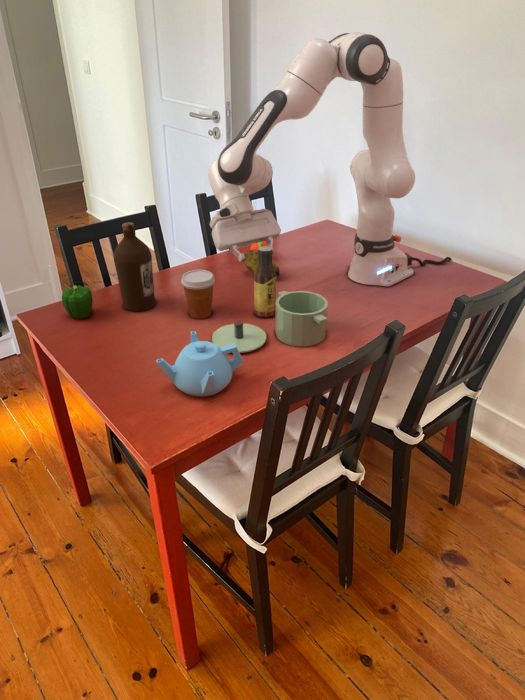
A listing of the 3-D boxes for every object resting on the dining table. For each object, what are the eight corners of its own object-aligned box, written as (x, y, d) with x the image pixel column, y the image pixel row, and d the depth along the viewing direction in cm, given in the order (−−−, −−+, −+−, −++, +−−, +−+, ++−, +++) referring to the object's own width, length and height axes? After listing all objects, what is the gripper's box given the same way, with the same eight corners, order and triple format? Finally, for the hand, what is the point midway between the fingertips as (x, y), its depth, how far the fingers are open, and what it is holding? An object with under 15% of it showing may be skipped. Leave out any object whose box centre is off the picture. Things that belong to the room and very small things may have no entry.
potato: (261, 285, 171) (261, 262, 166) (240, 272, 180) (239, 249, 175) (282, 279, 174) (282, 256, 170) (260, 266, 183) (260, 244, 179)
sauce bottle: (271, 320, 151) (271, 254, 141) (251, 316, 153) (249, 251, 142) (278, 310, 156) (279, 246, 146) (259, 306, 158) (258, 243, 148)
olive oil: (115, 310, 157) (101, 228, 143) (131, 294, 165) (119, 216, 152) (148, 314, 154) (137, 232, 141) (162, 298, 163) (153, 219, 150)
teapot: (212, 410, 117) (209, 369, 111) (157, 391, 123) (152, 351, 117) (246, 374, 128) (245, 336, 123) (194, 358, 134) (191, 321, 129)
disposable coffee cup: (178, 318, 152) (174, 280, 146) (193, 303, 160) (190, 267, 153) (208, 323, 150) (205, 285, 143) (222, 308, 157) (220, 271, 151)
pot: (300, 313, 155) (301, 283, 150) (342, 341, 141) (344, 310, 136) (261, 325, 149) (260, 295, 144) (300, 356, 135) (301, 324, 130)
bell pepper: (69, 309, 157) (62, 278, 152) (97, 307, 158) (91, 277, 153) (62, 322, 150) (55, 291, 145) (92, 321, 151) (85, 289, 146)
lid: (248, 321, 150) (248, 305, 148) (276, 344, 140) (277, 327, 137) (202, 335, 144) (201, 319, 141) (228, 361, 133) (227, 343, 131)
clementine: (269, 263, 185) (269, 244, 182) (250, 263, 185) (249, 244, 182) (269, 255, 192) (269, 236, 188) (250, 255, 192) (250, 236, 188)
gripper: (265, 213, 158) (283, 254, 157) (204, 225, 149) (222, 269, 147) (273, 201, 153) (292, 244, 151) (210, 214, 144) (229, 259, 142)
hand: (257, 257), depth 149 cm, fingers open, 8 cm apart
